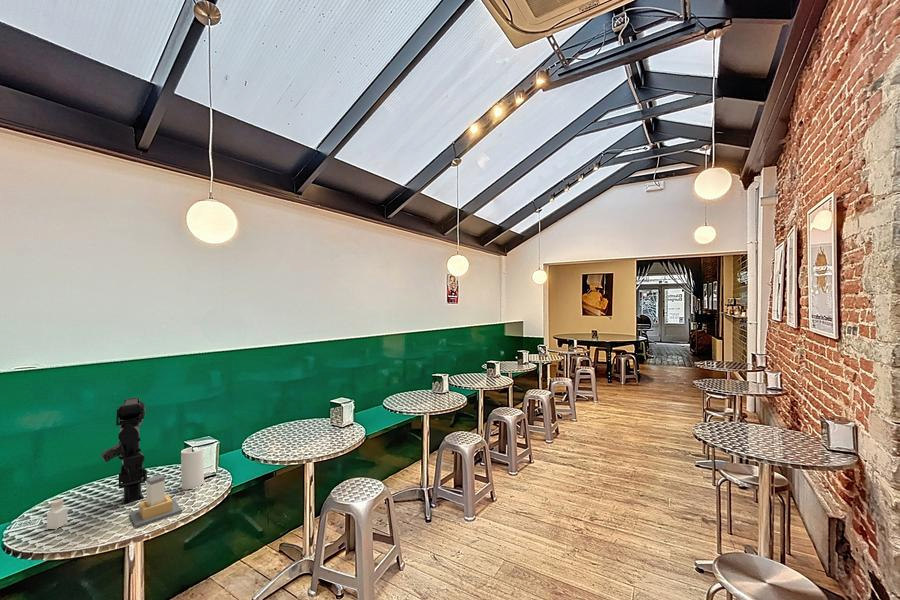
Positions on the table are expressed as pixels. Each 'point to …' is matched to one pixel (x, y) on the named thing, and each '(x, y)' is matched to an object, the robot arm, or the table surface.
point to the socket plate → (154, 512)
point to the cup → (192, 468)
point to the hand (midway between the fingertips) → (130, 476)
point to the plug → (155, 490)
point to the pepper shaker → (56, 515)
